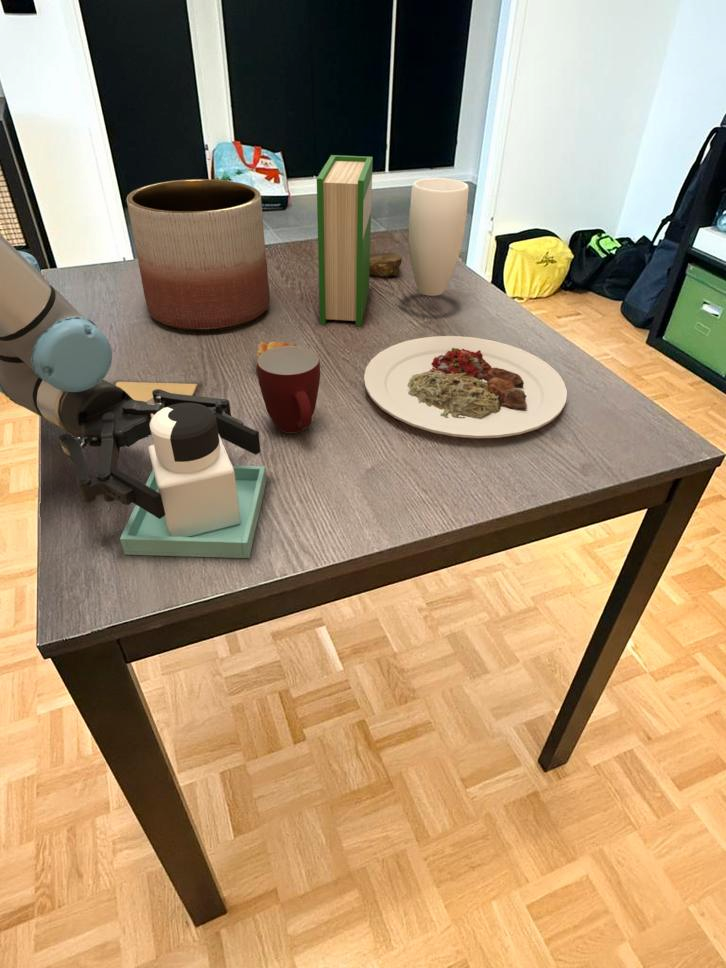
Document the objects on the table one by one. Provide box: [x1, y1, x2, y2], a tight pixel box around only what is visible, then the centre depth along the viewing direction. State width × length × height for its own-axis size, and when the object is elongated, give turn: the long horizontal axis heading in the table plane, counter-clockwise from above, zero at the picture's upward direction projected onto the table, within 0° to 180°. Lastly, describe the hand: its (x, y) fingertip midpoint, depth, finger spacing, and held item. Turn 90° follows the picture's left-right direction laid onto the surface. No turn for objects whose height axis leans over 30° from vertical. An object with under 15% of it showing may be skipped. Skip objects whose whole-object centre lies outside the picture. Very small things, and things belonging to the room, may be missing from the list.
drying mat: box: [114, 381, 198, 418], centre depth 89 cm, size 12×10×1 cm
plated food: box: [363, 335, 568, 439], centre depth 93 cm, size 30×30×3 cm
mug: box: [256, 345, 321, 434], centre depth 82 cm, size 11×8×10 cm
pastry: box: [255, 340, 297, 369], centre depth 97 cm, size 9×7×4 cm
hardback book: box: [316, 154, 374, 327], centre depth 111 cm, size 18×7×24 cm, turn 175°
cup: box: [408, 177, 470, 297], centre depth 112 cm, size 10×10×22 cm
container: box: [147, 403, 241, 537], centre depth 66 cm, size 8×8×13 cm
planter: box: [126, 178, 270, 332], centre depth 109 cm, size 22×22×20 cm
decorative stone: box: [369, 252, 403, 279], centre depth 133 cm, size 10×9×4 cm
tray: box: [119, 464, 268, 559], centre depth 70 cm, size 13×13×2 cm
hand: (212, 473), depth 65 cm, fingers open, 13 cm apart
